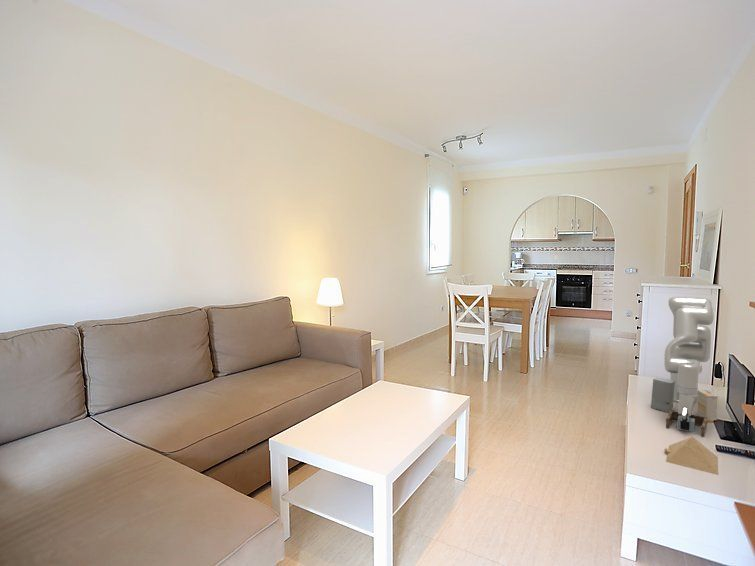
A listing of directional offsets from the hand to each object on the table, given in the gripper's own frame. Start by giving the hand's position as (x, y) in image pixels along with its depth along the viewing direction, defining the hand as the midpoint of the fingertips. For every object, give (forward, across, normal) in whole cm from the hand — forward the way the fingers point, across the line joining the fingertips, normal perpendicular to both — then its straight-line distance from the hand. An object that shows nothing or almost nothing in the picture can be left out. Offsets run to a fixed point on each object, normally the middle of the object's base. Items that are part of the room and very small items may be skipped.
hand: (686, 426), depth 188 cm
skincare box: (+1, -20, -12) cm, 23 cm away
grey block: (+1, 0, 0) cm, 1 cm away
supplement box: (+1, -19, +6) cm, 20 cm away
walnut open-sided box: (+1, -1, 0) cm, 2 cm away
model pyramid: (+2, +31, +5) cm, 31 cm away
